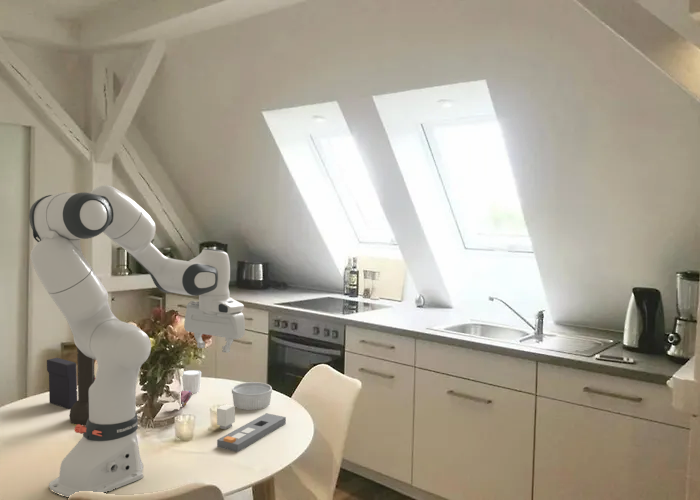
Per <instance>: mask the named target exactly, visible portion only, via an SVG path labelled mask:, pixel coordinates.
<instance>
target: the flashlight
mask: <svg viewBox="0 0 700 500" xmlns="http://www.w3.org/2000/svg"><path fill="white" fill-rule="evenodd" d="M76 349H77V351H76V353H77V354H76V355H77V362H76V363H77V397H78V401H77V402H75V403H74V405H73V406H72V408H71V409H69V419H70V424H72V425H74V426H76V425H78V424H80V425H82V426H83V425H84V426H86V423H87V420H88V418H89V388H90V386H91V385H92V384H93V383H94V381H95V378H96V374H95V360H94V359H92V358H89V357H87V356H86V355H84V354H83V353H82V352H81V351H80V350H79V349H78V348H77V347H76Z"/></svg>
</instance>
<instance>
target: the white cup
mask: <svg viewBox="0 0 700 500" xmlns="http://www.w3.org/2000/svg"><path fill="white" fill-rule="evenodd" d="M182 372H183V376H182V375H181V379H182V380H181V381H182V391H186V390H187V391H190V392H192V393H194V394H198V393H200V391H201V381H202V371H201V370H198V369H190V370H185V371H182ZM197 392H198V393H197Z"/></svg>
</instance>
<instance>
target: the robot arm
mask: <svg viewBox="0 0 700 500" xmlns="http://www.w3.org/2000/svg"><path fill="white" fill-rule="evenodd" d="M28 221H29V225H30V227H31V230H32V236H33V239H34V240H35V241H36V242H37V243H36V244H35V245H34V246H33V247H32V249H31V251H30V254H29V257H30V258H29V259H30V261H31V264H32V266H33V269H34V271H35V272H36V275H37V277H38V279H39V281H40V282H41V284H42V286H43V287H44V289H45V291H46V292H47V293H48V295H49V296H50V298H51V299H52V301H53V302H54V304H55V305H56V307H57V308H58V309H59V310H60V312H61V313H62V316H64V318H65V321H66V322H67V324H68V326H69V329H70V330H71V333H72V336H73V343H74V344H75V346H76V349H77V348H78V349H79V350H80V351H81V352H82V353H83V354H84V355H86V356H87V357H89V358H92V359H94V361H96V362H97V368H96V369H97V371H96V373H95V381H94V383H93V384H92V385H91V386H90V388H89V418H88V420H87V423H86V425H80V424H78V425H74V426H75V427H74V429H73V430H74V432H75V433H76V434H82V437H81V438H80V439H79V441H77V443H76V444H75V445H74V447H73V448H72V449H71V450H70V451H69V452H68V453H67V455H66V456H65V457H64V458H63V459H62V461H61V464H60V466H59V476H58V477H56V478H55V479H53V480H51V481H50V482H49V483H48V488H49V487H50V489H51V490H53V491H54V492H56V493H59V494H62V495H64V496H68V497H69V496H70V495H72V494H74V493H75V492H79V491H93V492H106V491H109V492H111V491H113V489H114V490H116V489H118V488H122V487H123V486H126V485H128V484H131V483H133V482H137V481H139V480H141V479H143V477H144V474H143V470H144V464H143V461H142V458H141V455H140V454H141V453H140V448H139V443H138V442H139V441H138V436H137V430H138V428H139V426H138V425H139V420H138V413H137V412H136V407H137V406H136V401H137V398H136V396H137V394H136V392H137V391H136V388H137V381H138V376H139V372H140V370H141V367H142V366H143V364H145V362H146V361H147V360H148V358H149V357H150V355H151V351H152V342H151V339H150V337H149V335H148V334H147V333H146V332H145V331H144V330H142V329H141V328H140V327H138V326H137V325H135V324H133V323H129V322H125V321H123V320H120V319H119V318H118V317H116V315H115V314H114V313H113V312H112V310H111V307H110V303H109V293H108V290H107V289H106V287H105V286H104V284H103V283H102V281H101V279H100V278H99V276H98V275H97V273H96V272H95V271H94V269H93V268H92V265H91V264H90V263H89V261H88V259H86V257H85V256H84V253H83V252H82V251H83V250H82V247H81V239H83V240H88V239H92V238H95V237H97V236H100V235H101V234H103V233H104V235H106V236H107V238H109V239H110V240H112V241H113V242H114V243H115V244H117V245H118V246H119V247H121V248H122V249H124V251H126V252H127V253H128V254H129V255H130V256H131V257H132V258H133V259H134V260H135V261H136V262H137V263H138V264H140V266H141V267H142V268H143V269H145V271H147V273H148V274H149V276H150V278H151V280H152V281H153V284H154V285H155V286H156V288H157V289H158V290H159V291H161V292H163V293H165V294H166V293H167V294H169V293H170V294H177V295H179V294H180V295H183V296H184V295H185V296H191V297H195V296H198V301H194V300H191V301H190V302H188V303H187V304H186V311H185V316H184V324H183V326H184V327H183V329H184V330H185V332H188V333H194V334H193V335H194V336H193V337H194V339H195V341H196V343H197V344H196V346H197V347H196V348H198V349H205V347H206V346H205V345H206V342H205V341H203V337H202V336H203V335H206V336H207V335H208V336H214V337H220V338H224V341H225V342H226V343H225V345H222V348H221V350H222V353H227V354H228V353H231V352H230V351H231V346H232V344H233V342H234V340H238V339H241V338H243V337H244V336H245V334H246V321H245V319H246V318H245V315H244V313H243V312H244V310H245V305H244V303H242V302H240V301H238V300H236V299H234V298H232V297H230V295H231V294H230V293H231V292H230V289H229V285H230V281H231V263H230V262H231V261H230V257H229V254H228V253H227V252H226V251H224V250H221V249H215V248H214V249H213V248H203V249H202V250H201V252H200V253H199V254H197V256H196V257H193V258H192V259H189V260H182V259H176V258H172V257H168V256H165V255H164V254H163V253H162V252H161V251H160V250H159V249H158V248H157V246H155V245H154V244H153V243H152V242H153V240H154V238H155V235H156V230H157V226H156V223H155V222H156V221H154V219H153V218H152V216H151V215H150V214H149V213H148V211H146V210H145V209H144V208H143V207H142V206H141V205H139V204H138V203H137V202H136V201H135V200H134V199H132V198H131V197H129V195H127V194H126V193H124V192H123V191H121V190H119V189H117V187H114V186H112V185H107V184H106V185H105V184H104V185H99V186H97V187H95V188H94V189H93V190H91V191H90V192H62V193H56V194H49V195H48V194H47V195H44V196H42V197H41V198H39V199H37V200H36V201H35V202H33V204H32V205H31V207H30V209H29V212H28ZM115 488H116V489H115ZM50 489H49V490H50ZM51 490H50V491H51ZM106 493H107V492H106Z"/></svg>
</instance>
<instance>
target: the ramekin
mask: <svg viewBox="0 0 700 500" xmlns="http://www.w3.org/2000/svg"><path fill="white" fill-rule="evenodd" d="M272 392H273V388H272V386H271V385H270V384H268V383H265V382H259V381H258V382H257V381H255V382H254V381H252V382H251V381H250V382H249V381H248V382H241V383H238V384H236V385H234V386H232V388H231V395H232V401H233V402H232V403H233V405H234V406H235V408H237V409H240V410H246V411H251V410H252V411H253V410H260V409H265V408H266V407H268V406H269V405H270V403H271V396H272Z"/></svg>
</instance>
